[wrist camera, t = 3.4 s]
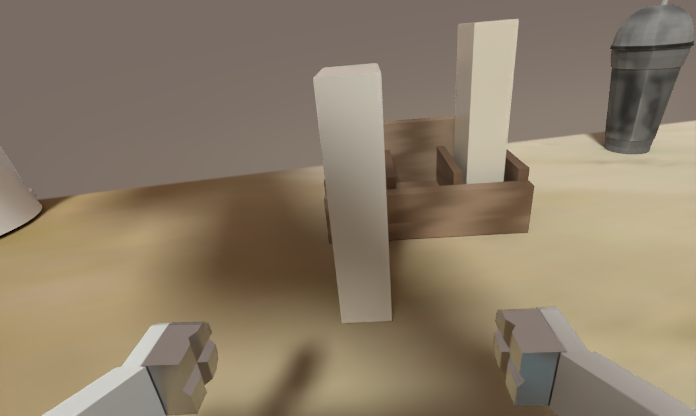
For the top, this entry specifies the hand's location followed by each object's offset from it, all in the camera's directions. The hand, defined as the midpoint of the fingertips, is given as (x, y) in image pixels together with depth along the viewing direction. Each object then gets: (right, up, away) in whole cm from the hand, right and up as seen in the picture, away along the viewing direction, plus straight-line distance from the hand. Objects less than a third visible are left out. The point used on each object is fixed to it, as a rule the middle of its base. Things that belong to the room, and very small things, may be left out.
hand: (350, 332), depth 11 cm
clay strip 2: (+11, +5, +24) cm, 27 cm away
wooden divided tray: (+7, +3, +25) cm, 26 cm away
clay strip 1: (+1, -2, +14) cm, 14 cm away
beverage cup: (+34, +11, +35) cm, 50 cm away
